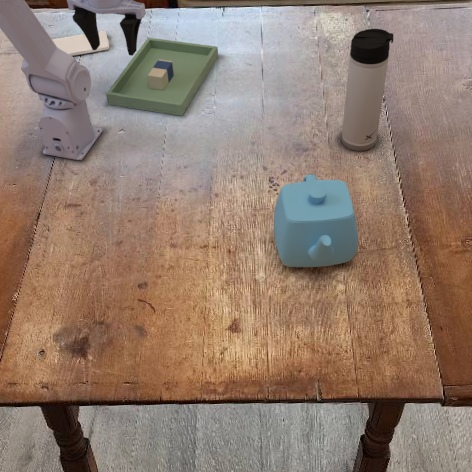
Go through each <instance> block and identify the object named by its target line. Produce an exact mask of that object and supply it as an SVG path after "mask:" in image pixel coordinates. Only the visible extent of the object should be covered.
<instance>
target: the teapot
mask: <svg viewBox="0 0 472 472" xmlns="http://www.w3.org/2000/svg"><path fill="white" fill-rule="evenodd" d="M276 199H277V200H276V203H275V207H274V211H273V212H274V213H273V235H274V241H275V245H276V250H277V253H278V257H279V259H280V261H281V263H282V264H283V265H284V266H286V267H290V268H321V267H328V266H334V265H340V264H345V263H348V262H350V261H352V260H353V258H354V257H355V256H356V254H357V251H358V246H359V233H358V223H357V218H356V212H355V209H354V204H353V200H352V197H351V193H350V191H349V188H348V185H347V183H346V181H343V180H340V179H318V177H317V175H315V174H310V173H309V174H306V175H304V177H303V181H298V182H291V183H288V184H287V183H286V184H284V185H283V186H282V187H281V189H280V191H279V194H278V196H277V198H276Z"/></svg>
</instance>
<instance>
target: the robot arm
mask: <svg viewBox="0 0 472 472" xmlns="http://www.w3.org/2000/svg"><path fill="white" fill-rule="evenodd" d="M66 3H67V6H68V7H67V8H68V10H69V11H74V14H73V15H72V16H71V17H72V21H73V22H74V23H75V24H76V25H77V26H78V28H79V29H80V30H81V31H82V34H85V36H86V38H87V39H88V41H89V43H90V45H91V48H92V50H96V49H97V48H98V47H99V46H100V39H99V34H98V31H99V29H98V23H97V14H99V15H109V14H110V15H111V14H113V15H120V16H121V15H122V16H124V17H123V18H122V19H121V20H120V22H119V26H120V28H121V30H122V32H123V35H124V39H125V45H126V49H127V53H128V56H134V55H135V54H136V53H137V52H138V51H137V48H138V47H137V46H138V35H139V30H140V27H141V23H142V20H143V18H144V17H145V16H146V14H147V13H146V6H145V3H142V2H137V1H135V0H66ZM0 30H1V31H2V33H3V34H4V35H5V36H6V38H7V39H8V40H9V42H10V43H11V44H12V46H13V47H14V48H15V49H16V51H17V52H18V53H19V54H20V56H21V57H22V58H23V59H22V63H21V66H20V70H21V71H22V73H23V75H24V76H25V80H26V82H27V85H28V87H29V89H30V90H31V91H32V92H33V93H36V94H37V95H38V99H39V100H40V101H42V102H43V112H42V115H41V117H40V118H39V121H38V128H39V132H40V135H41V138H42V141H43V144H44V149H43V150H42V154H43V155H46V156H47V155H48V156H53V157H59V158H64V159H70V160H76V161H82V160H83V159H84V158H85V157H86V155H87V154H88V152H89V151H90V150H91V148H92V147H93V146H94V144H95V143H96V142H97V140H98V138H99V137H100V136H101V134H102V133H103V131H104V130H103V128H102V127H96V126H93V124H92V121H91V116H90V112H89V108H88V104H87V100H86V99H87V98H88V97H89V94H90V92H91V90H92V89H91V88H92V78H91V74H90V71H89V69H88V68H87V67H86V66H85V65H84V64H80V63H79V62H78V61H77V59H76V58H75V57H73V56H71V55H69V54H67V53H66V52H64V51H62V50H61V49H59V48H58V47H57V46H56V45H55V44H54V42H53V41H52V39H53V38H52V37H51V36H50V35H49V34H48V32H47V31H46V29H45V28H44V26H43V24H42V23H41V22H40V21H39V19H38V17H37V16H36V15H35V13H34V12H33V10H32V9H31V7H30V6H29V5H28V3H27V2H26V0H0Z"/></svg>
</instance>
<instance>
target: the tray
mask: <svg viewBox="0 0 472 472" xmlns="http://www.w3.org/2000/svg"><path fill="white" fill-rule="evenodd" d="M218 51H219V50H218V46H216V45H208V44H200V43H193V42H184V41H177V40H170V39H162V38H154V37H147V38H146V40H145V41H144V42H143V44H142V45H141V46H140V48H139V49H138V51H136V52H135V53H134V55H133V57H132V59H130V60H129V63H128V64H127V65H126V66H125V67H124V69H123V70H122V72H121V73H120V74H119V76H118V77H117V78H116V80H115V81H114V82H113V84H112V85H111V86H110V88H109V89H108V90H107V92H106V94H105V95H106V100H107V104H108V106H116V107H123V108H129V109H134V110H135V109H136V110H142V111H148V112H153V113H154V112H155V113H160V114H166V115H167V114H168V115H174V116H180V117H183V115H184V114H185V112H186V111H187V109H188V107H189V106H190V104H191V103H192V101H193V100H194V98H195V96H196V95H197V93H198V91H199V89H200V88H201V86H202V84H203V83H204V81H205V80H206V78H207V77H208V75H209V73H210V71H211V70H212V68H213V67H214V65H215V63H216V62H217V60H218V58H219V52H218ZM158 60H167V61H173V68H174V76H173V77H172V79H171V80H170V82H169V83H168V84H167V86H166V87H165V89H164V90H159V89H152V88H150V87H149V81H148V74H149V73H150V71H151V70H152V69H153V67H154V65H155V64H156V62H157V61H158Z"/></svg>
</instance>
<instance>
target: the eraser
mask: <svg viewBox="0 0 472 472" xmlns="http://www.w3.org/2000/svg"><path fill="white" fill-rule="evenodd" d="M173 76H174V68H173V61H167V60H158V61H157V62H156V64H155V65H154V67H153V69H152V70H151V71H150V73H149V74H148V81H149V87H150V88H152V89H159V90H164V89H165V87H166V86H167V84H168V83H169V82H170V80H171V79H172V77H173Z"/></svg>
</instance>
